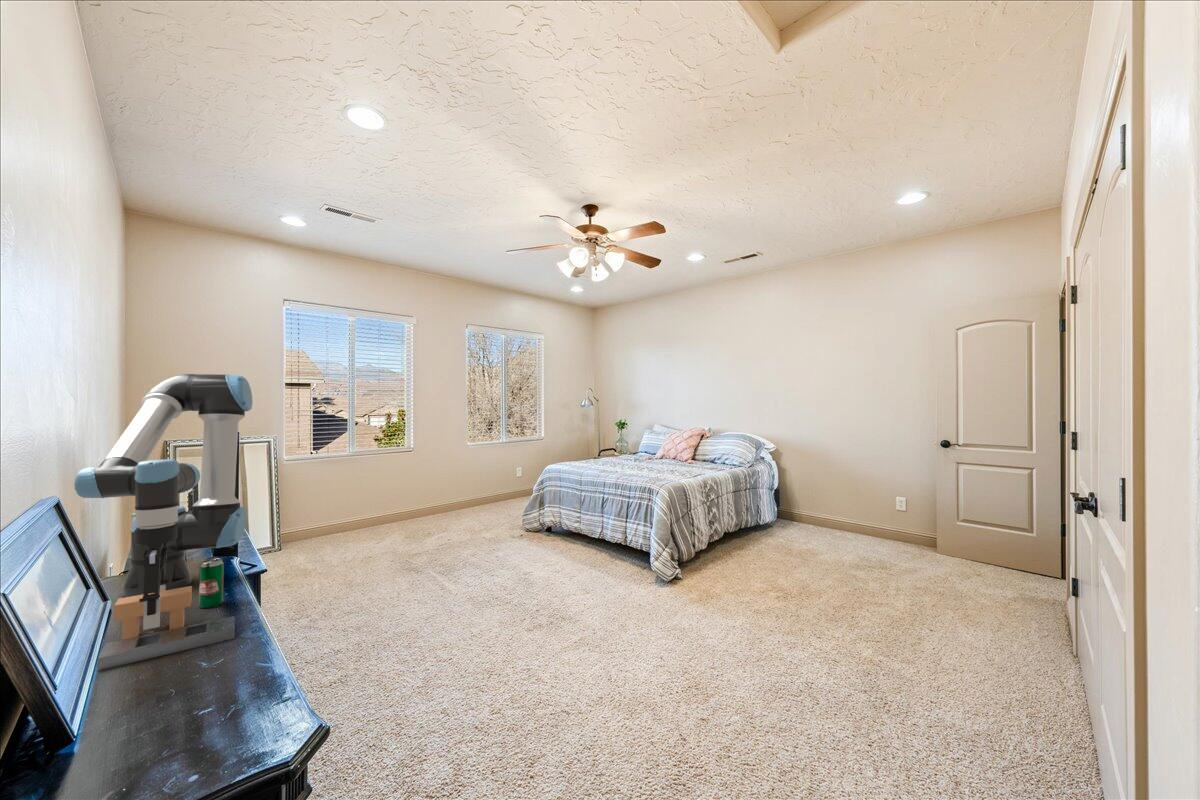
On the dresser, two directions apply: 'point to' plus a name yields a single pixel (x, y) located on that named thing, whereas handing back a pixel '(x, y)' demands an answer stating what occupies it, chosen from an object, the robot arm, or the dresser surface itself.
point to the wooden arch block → (169, 601)
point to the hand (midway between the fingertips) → (154, 620)
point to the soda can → (211, 583)
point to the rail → (165, 642)
